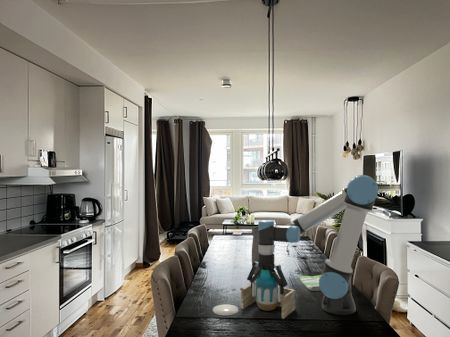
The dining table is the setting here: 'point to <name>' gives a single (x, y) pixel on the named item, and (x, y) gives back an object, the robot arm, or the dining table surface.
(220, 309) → the disc
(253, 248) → the vase
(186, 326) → the dining table surface
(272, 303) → the vase
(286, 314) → the light wood u-shaped piece
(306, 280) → the dish towel
